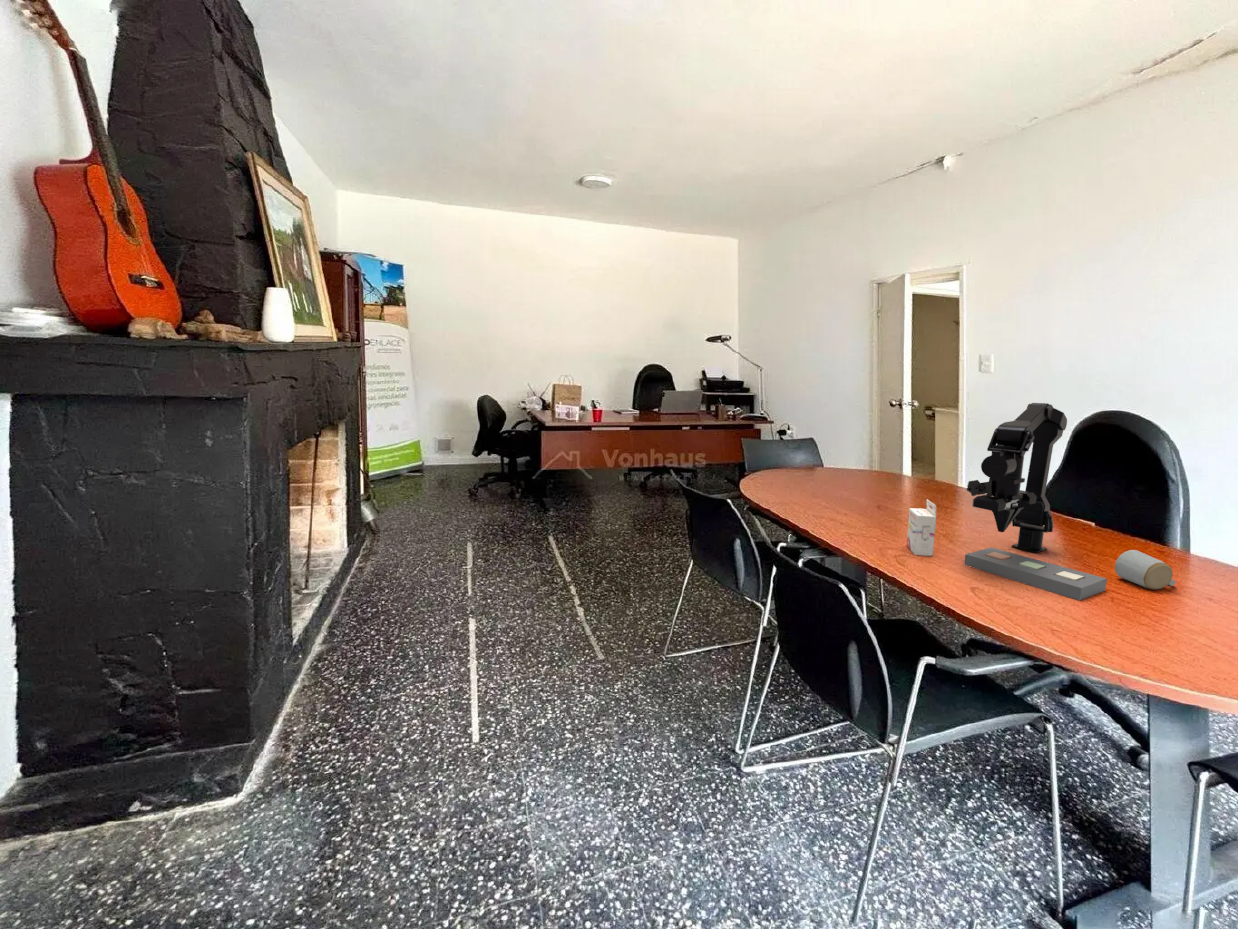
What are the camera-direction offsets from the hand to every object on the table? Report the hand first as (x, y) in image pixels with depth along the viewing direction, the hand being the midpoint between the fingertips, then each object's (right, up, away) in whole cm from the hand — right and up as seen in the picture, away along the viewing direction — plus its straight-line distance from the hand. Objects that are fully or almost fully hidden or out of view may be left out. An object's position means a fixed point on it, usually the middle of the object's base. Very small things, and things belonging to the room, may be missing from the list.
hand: (1001, 531), depth 145 cm
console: (+4, -11, -5) cm, 13 cm away
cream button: (+8, -11, -12) cm, 18 cm away
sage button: (+4, -10, -5) cm, 12 cm away
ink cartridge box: (-14, -8, +15) cm, 21 cm away
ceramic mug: (+29, -12, -10) cm, 32 cm away
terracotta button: (0, -9, +2) cm, 9 cm away
